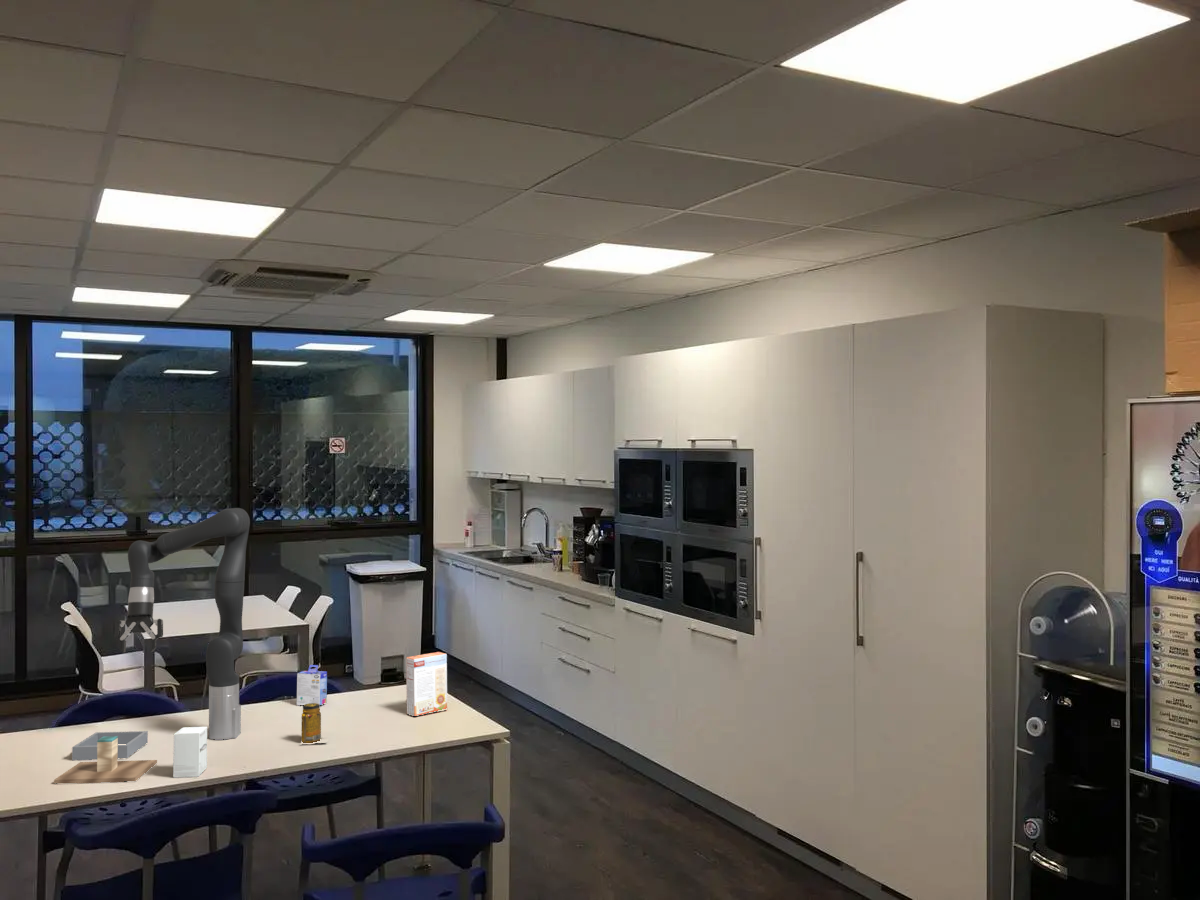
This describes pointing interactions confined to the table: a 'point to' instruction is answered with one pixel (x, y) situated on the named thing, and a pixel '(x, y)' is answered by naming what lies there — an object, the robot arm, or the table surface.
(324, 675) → the ink cartridge box
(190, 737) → the supplement box
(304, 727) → the condiment
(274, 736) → the table surface
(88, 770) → the walnut board
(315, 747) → the table surface
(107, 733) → the parts bin
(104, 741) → the beech block
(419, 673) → the cracker box
